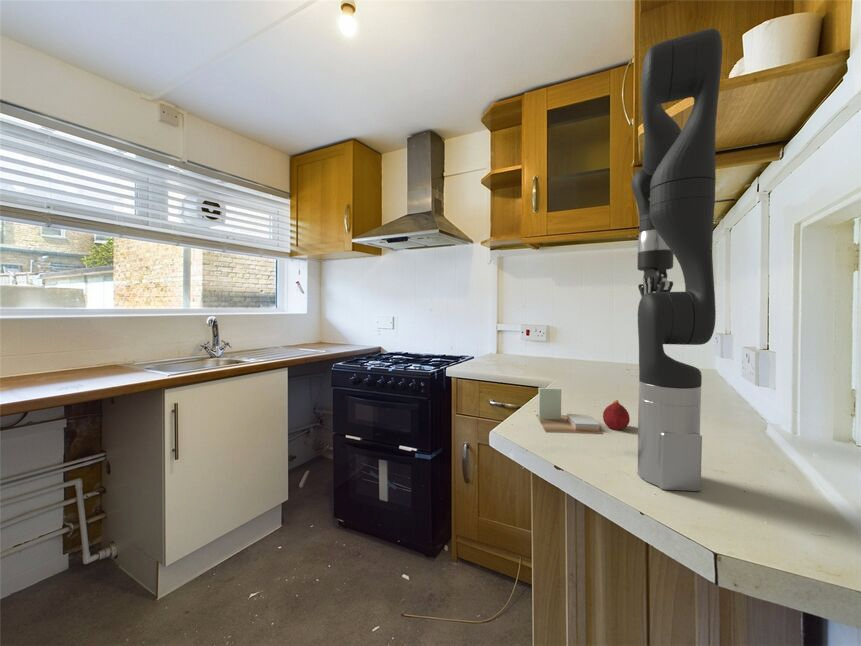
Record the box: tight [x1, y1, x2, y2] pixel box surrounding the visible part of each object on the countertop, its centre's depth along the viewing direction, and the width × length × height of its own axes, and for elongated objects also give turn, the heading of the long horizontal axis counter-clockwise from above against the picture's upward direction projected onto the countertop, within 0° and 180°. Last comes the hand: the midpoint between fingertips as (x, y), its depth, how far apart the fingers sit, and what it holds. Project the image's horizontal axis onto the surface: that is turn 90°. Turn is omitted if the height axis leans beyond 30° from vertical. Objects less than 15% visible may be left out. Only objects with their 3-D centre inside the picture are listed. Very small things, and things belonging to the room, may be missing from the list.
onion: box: [602, 399, 631, 431], centre depth 89 cm, size 6×6×8 cm
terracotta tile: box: [566, 413, 601, 431], centre depth 91 cm, size 2×6×8 cm
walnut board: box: [535, 414, 604, 435], centre depth 93 cm, size 14×13×1 cm
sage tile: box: [537, 387, 562, 420], centre depth 97 cm, size 2×6×8 cm, turn 83°
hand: (653, 320), depth 91 cm, fingers closed
